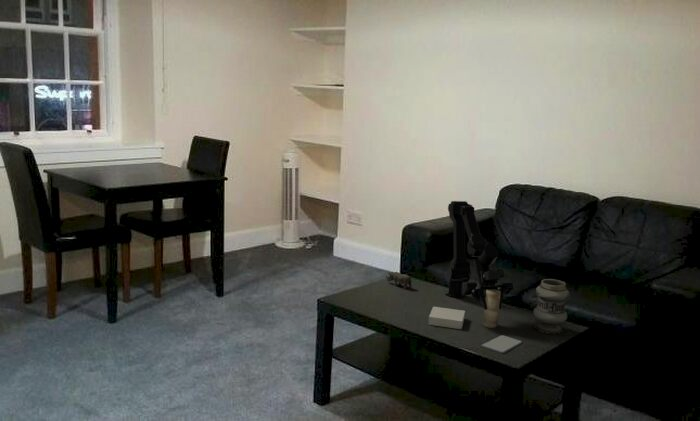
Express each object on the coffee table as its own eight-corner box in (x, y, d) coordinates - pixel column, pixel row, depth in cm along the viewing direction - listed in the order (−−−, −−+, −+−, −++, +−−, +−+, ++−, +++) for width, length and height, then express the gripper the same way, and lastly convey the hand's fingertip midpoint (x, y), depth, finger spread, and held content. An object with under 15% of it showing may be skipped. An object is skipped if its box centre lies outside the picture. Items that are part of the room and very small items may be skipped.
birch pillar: (486, 321, 251) (490, 288, 248) (499, 325, 248) (503, 291, 245) (480, 324, 247) (483, 290, 244) (492, 328, 244) (496, 294, 241)
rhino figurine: (388, 281, 295) (389, 268, 294) (413, 289, 286) (414, 275, 284) (382, 283, 292) (383, 269, 291) (407, 290, 283) (408, 277, 281)
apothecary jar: (524, 324, 250) (529, 278, 246) (550, 321, 255) (556, 276, 251) (545, 336, 239) (551, 288, 235) (572, 333, 244) (578, 285, 240)
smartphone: (523, 341, 232) (502, 352, 221) (523, 344, 232) (502, 355, 221) (501, 334, 237) (480, 344, 226) (501, 337, 238) (480, 347, 226)
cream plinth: (432, 314, 255) (433, 306, 255) (464, 318, 253) (465, 310, 252) (428, 324, 244) (428, 316, 243) (461, 329, 241) (462, 321, 241)
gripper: (467, 260, 244) (477, 299, 236) (515, 260, 249) (525, 299, 240) (457, 275, 253) (466, 313, 245) (503, 275, 258) (513, 312, 249)
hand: (493, 309), depth 245 cm, fingers closed on birch pillar, 5 cm apart
